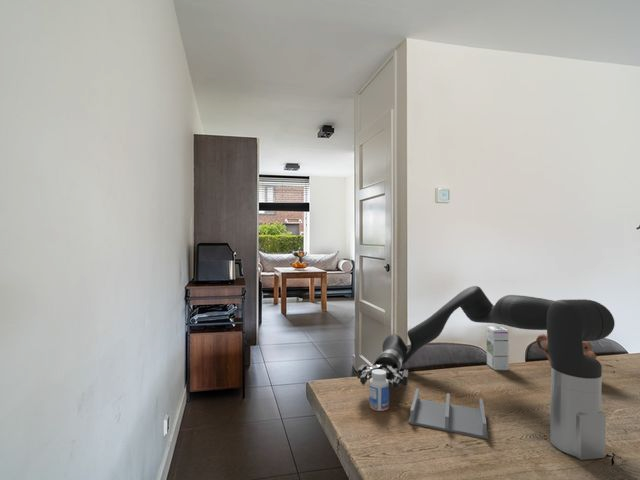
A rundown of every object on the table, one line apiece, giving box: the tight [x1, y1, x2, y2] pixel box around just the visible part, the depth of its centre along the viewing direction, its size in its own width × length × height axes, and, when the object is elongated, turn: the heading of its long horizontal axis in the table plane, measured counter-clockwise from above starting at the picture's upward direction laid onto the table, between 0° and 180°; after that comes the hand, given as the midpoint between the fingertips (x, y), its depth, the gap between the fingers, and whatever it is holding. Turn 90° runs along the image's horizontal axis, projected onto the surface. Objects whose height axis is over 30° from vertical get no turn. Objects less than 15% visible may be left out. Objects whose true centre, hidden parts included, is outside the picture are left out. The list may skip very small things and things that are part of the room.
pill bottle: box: [368, 369, 390, 412], centre depth 97 cm, size 6×5×10 cm
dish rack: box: [408, 388, 489, 440], centre depth 92 cm, size 14×18×4 cm
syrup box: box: [486, 325, 510, 371], centre depth 129 cm, size 6×6×14 cm
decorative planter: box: [535, 334, 597, 366], centre depth 124 cm, size 20×12×14 cm, turn 28°
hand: (377, 383), depth 96 cm, fingers open, 8 cm apart
